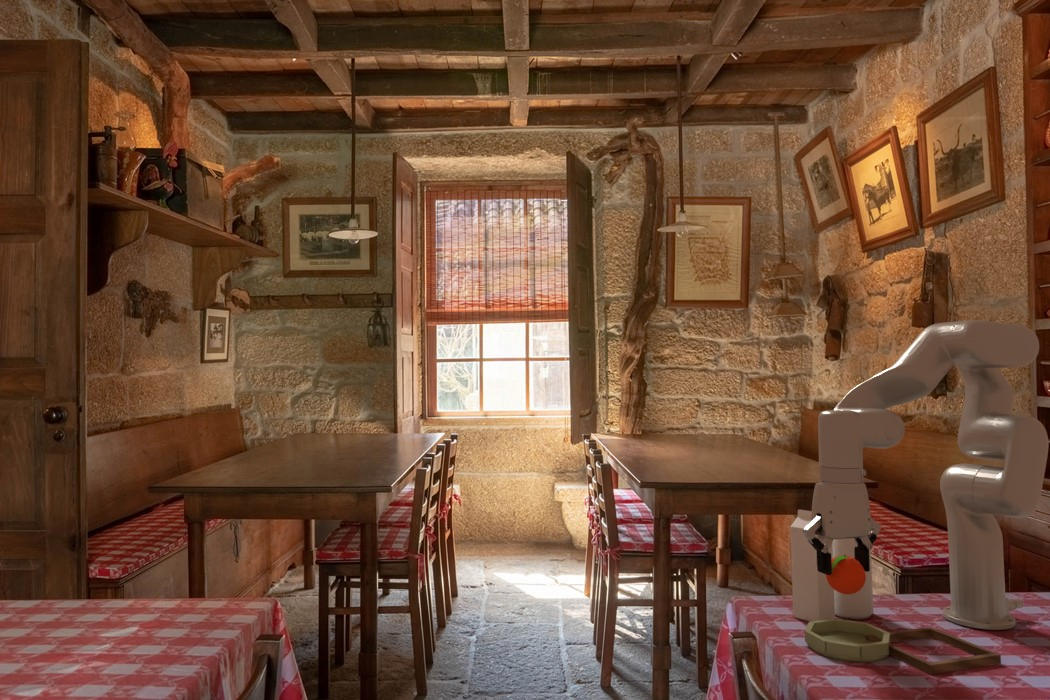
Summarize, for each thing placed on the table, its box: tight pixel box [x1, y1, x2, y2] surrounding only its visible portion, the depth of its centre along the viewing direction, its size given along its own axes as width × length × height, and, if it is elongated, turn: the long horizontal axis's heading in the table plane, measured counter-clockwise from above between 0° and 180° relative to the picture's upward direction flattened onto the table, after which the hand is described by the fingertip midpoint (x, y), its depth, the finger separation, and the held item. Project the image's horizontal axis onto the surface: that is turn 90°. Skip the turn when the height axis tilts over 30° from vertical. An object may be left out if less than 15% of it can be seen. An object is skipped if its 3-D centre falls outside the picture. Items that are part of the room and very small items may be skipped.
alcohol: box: [832, 538, 874, 620], centre depth 153 cm, size 9×9×30 cm
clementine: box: [825, 555, 866, 594], centre depth 133 cm, size 8×7×7 cm
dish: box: [804, 618, 891, 663], centre depth 133 cm, size 14×14×3 cm
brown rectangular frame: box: [866, 626, 1002, 675], centre depth 130 cm, size 15×15×2 cm
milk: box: [789, 509, 836, 622], centre depth 150 cm, size 6×6×22 cm
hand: (843, 570), depth 134 cm, fingers closed on clementine, 7 cm apart
